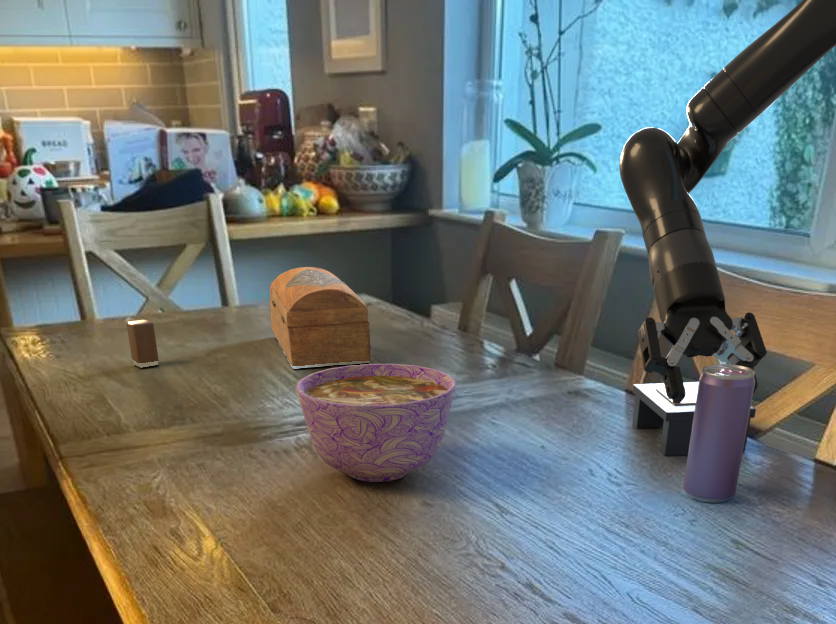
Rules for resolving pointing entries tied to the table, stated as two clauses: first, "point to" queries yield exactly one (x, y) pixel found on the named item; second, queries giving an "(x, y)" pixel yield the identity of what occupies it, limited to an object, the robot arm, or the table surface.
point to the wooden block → (142, 341)
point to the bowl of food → (376, 417)
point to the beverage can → (718, 432)
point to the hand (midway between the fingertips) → (714, 398)
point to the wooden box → (318, 318)
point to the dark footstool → (669, 415)
